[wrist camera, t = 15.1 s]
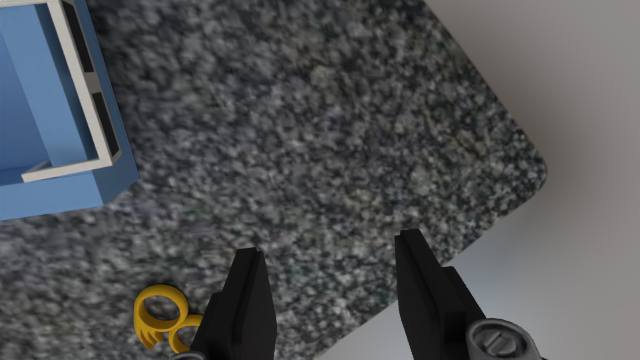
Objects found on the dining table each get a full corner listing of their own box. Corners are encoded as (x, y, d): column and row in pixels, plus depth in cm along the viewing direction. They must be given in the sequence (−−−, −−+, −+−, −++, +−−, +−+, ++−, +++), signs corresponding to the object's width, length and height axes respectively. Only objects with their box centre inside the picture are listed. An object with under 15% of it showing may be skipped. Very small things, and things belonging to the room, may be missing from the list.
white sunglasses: (74, -1, 31) (55, -11, 27) (123, 154, 35) (113, 165, 31) (-18, 8, 29) (-53, -2, 25) (44, 168, 34) (24, 182, 30)
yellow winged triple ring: (213, 393, 49) (272, 353, 47) (210, 404, 48) (271, 363, 46) (115, 310, 45) (176, 262, 43) (108, 319, 43) (172, 270, 42)
